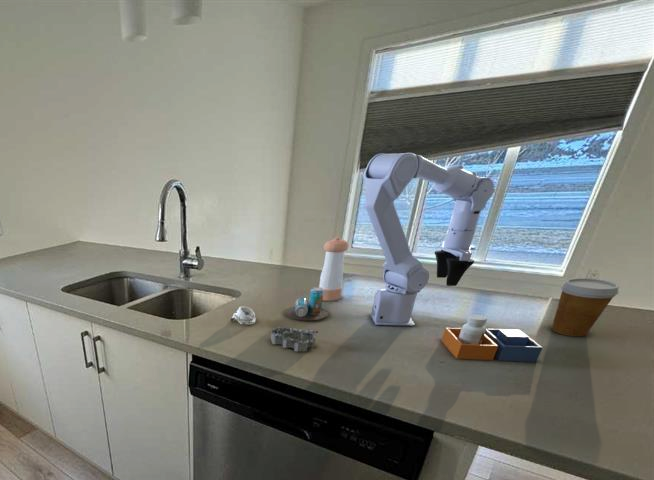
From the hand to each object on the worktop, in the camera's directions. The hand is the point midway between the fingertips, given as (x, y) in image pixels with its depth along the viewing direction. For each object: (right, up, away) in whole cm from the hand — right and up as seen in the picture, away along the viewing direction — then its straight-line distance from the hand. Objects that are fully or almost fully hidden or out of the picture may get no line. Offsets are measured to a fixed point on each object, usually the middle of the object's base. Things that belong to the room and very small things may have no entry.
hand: (446, 281), depth 110 cm
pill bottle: (-6, -20, -15) cm, 26 cm away
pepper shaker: (-21, 0, +24) cm, 32 cm away
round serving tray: (-33, -7, +13) cm, 36 cm away
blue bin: (+1, -21, -17) cm, 27 cm away
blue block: (+1, -20, -17) cm, 27 cm away
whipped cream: (-53, -9, +12) cm, 55 cm away
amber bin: (-7, -20, -15) cm, 26 cm away
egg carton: (-44, -18, -4) cm, 48 cm away
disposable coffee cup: (+22, -15, -11) cm, 29 cm away
